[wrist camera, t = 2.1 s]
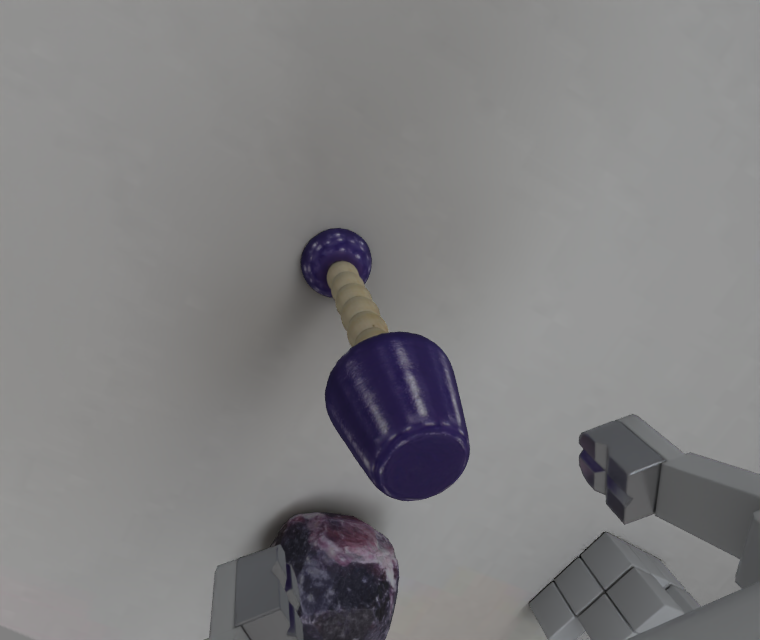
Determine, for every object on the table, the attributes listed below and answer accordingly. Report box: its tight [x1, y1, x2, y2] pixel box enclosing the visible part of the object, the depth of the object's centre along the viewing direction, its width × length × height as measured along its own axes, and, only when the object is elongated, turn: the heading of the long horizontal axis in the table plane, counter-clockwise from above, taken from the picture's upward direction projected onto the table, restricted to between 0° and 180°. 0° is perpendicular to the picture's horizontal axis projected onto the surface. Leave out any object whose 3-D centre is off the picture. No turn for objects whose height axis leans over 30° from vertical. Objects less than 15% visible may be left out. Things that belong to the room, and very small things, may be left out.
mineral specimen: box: [270, 512, 399, 640], centre depth 33 cm, size 10×10×10 cm
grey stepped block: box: [529, 532, 701, 640], centre depth 47 cm, size 12×12×8 cm
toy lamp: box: [301, 228, 470, 501], centre depth 20 cm, size 5×5×17 cm
